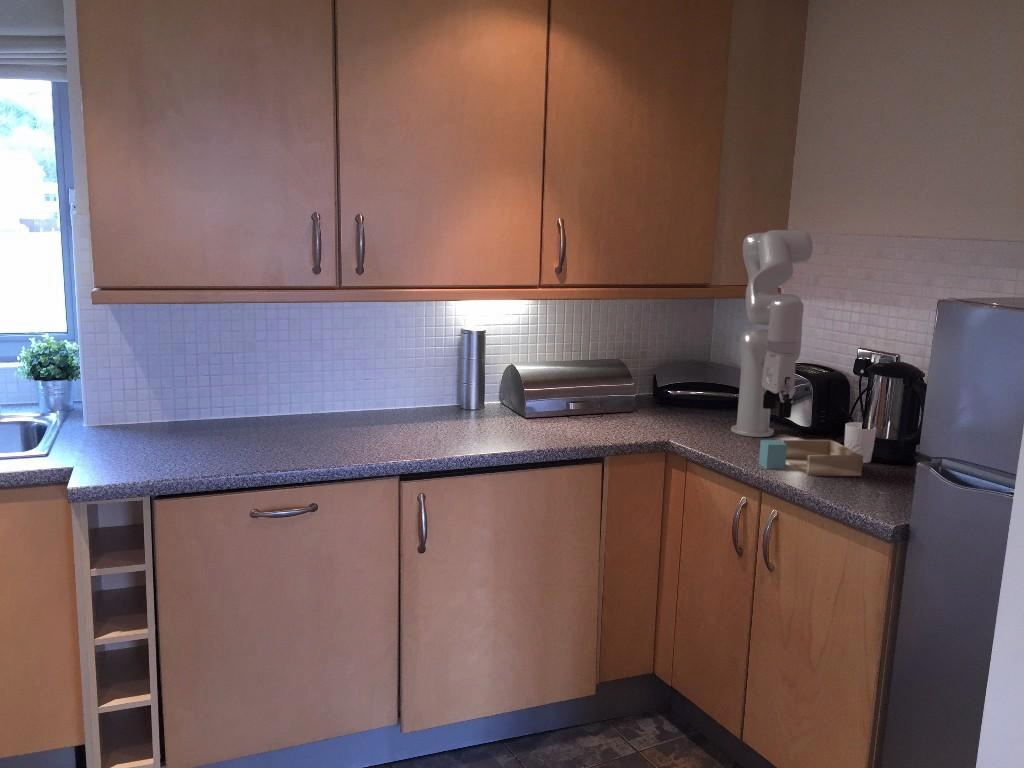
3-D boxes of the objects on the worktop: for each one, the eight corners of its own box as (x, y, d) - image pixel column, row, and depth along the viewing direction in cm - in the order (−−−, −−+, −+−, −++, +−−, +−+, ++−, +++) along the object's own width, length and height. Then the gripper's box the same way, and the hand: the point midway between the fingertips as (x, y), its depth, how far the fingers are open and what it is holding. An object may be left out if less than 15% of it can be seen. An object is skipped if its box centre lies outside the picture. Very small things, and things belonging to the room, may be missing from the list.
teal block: (758, 465, 231) (760, 439, 229) (776, 465, 231) (779, 439, 230) (766, 471, 226) (768, 444, 224) (784, 471, 226) (787, 444, 225)
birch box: (780, 459, 237) (782, 439, 236) (830, 459, 239) (832, 439, 238) (807, 477, 221) (809, 456, 220) (861, 477, 223) (863, 456, 222)
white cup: (865, 457, 242) (869, 422, 240) (877, 465, 234) (881, 429, 232) (837, 457, 242) (840, 421, 240) (848, 465, 234) (852, 428, 232)
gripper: (754, 341, 231) (749, 405, 234) (782, 353, 214) (775, 421, 217) (782, 342, 231) (776, 405, 235) (811, 353, 215) (804, 421, 218)
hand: (776, 412), depth 226 cm, fingers open, 9 cm apart
